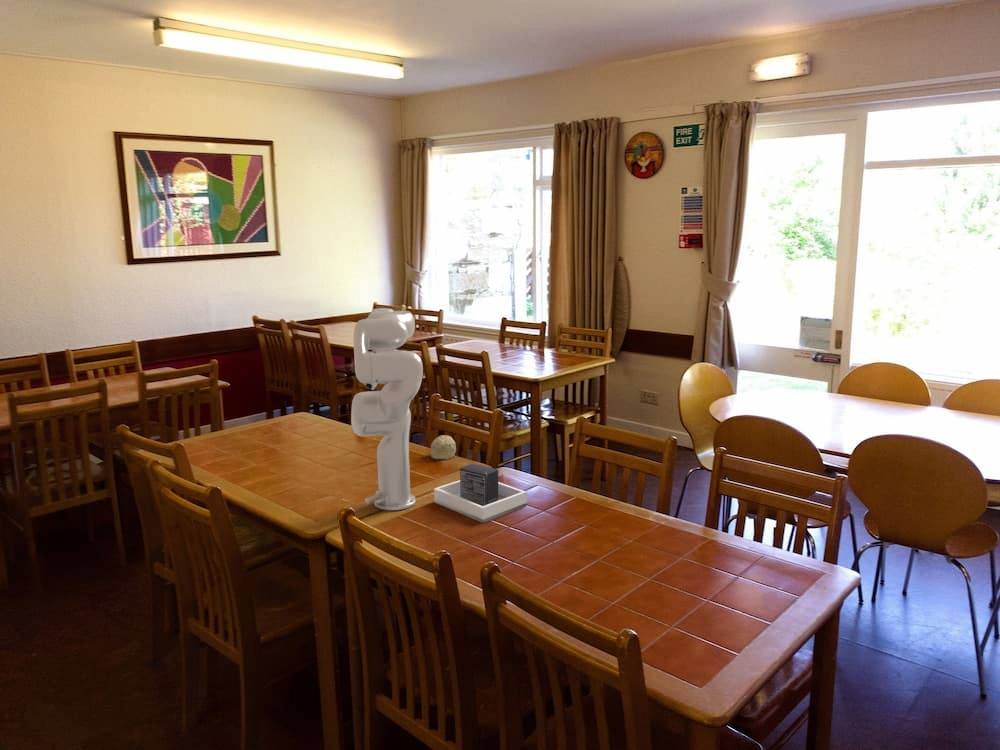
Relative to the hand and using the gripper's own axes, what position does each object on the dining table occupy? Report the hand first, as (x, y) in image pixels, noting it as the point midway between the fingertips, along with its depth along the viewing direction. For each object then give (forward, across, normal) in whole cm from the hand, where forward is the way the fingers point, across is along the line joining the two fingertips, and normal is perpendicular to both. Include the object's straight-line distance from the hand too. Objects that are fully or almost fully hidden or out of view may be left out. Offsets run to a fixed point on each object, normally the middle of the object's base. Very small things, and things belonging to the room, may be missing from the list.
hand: (385, 398), depth 234 cm
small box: (+26, +8, -38) cm, 47 cm away
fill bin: (+27, +8, -38) cm, 47 cm away
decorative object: (+29, +28, +7) cm, 41 cm away
